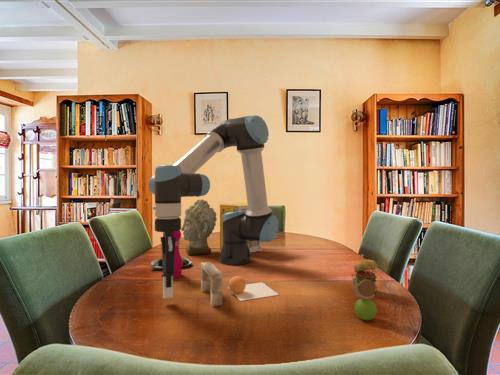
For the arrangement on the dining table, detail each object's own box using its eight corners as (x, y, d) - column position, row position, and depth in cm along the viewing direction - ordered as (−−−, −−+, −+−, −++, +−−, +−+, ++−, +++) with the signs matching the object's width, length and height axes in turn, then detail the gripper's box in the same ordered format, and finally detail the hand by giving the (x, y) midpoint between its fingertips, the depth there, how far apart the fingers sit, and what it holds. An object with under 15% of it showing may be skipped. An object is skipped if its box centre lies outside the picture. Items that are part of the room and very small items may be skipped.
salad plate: (145, 262, 136) (145, 252, 136) (184, 258, 143) (184, 249, 143) (151, 273, 118) (151, 262, 118) (195, 268, 126) (195, 257, 126)
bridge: (209, 289, 99) (209, 261, 99) (222, 305, 86) (222, 273, 86) (201, 290, 98) (201, 262, 98) (212, 306, 85) (212, 274, 85)
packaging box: (238, 255, 148) (238, 205, 148) (219, 250, 160) (219, 204, 160) (261, 250, 159) (261, 204, 159) (242, 246, 171) (242, 203, 171)
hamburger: (366, 296, 92) (366, 258, 92) (349, 289, 99) (349, 253, 99) (383, 292, 96) (383, 255, 96) (365, 286, 102) (365, 251, 102)
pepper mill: (177, 279, 110) (177, 225, 110) (160, 278, 111) (160, 225, 111) (185, 273, 117) (185, 223, 117) (169, 272, 118) (169, 223, 118)
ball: (223, 284, 96) (235, 294, 98) (228, 289, 91) (240, 299, 93) (233, 270, 98) (245, 280, 99) (239, 275, 93) (251, 285, 94)
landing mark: (262, 282, 106) (262, 282, 106) (278, 295, 93) (278, 294, 93) (227, 287, 101) (227, 286, 101) (240, 301, 89) (240, 300, 89)
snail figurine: (347, 315, 79) (347, 270, 79) (370, 314, 79) (370, 270, 79) (356, 324, 73) (356, 276, 73) (380, 323, 74) (380, 276, 74)
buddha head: (179, 250, 160) (179, 199, 160) (213, 248, 166) (213, 198, 166) (182, 257, 144) (182, 200, 144) (219, 254, 150) (219, 199, 150)
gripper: (153, 215, 92) (153, 291, 92) (156, 220, 79) (156, 307, 80) (177, 215, 94) (177, 288, 94) (184, 219, 82) (184, 303, 82)
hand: (168, 296), depth 87 cm, fingers closed
